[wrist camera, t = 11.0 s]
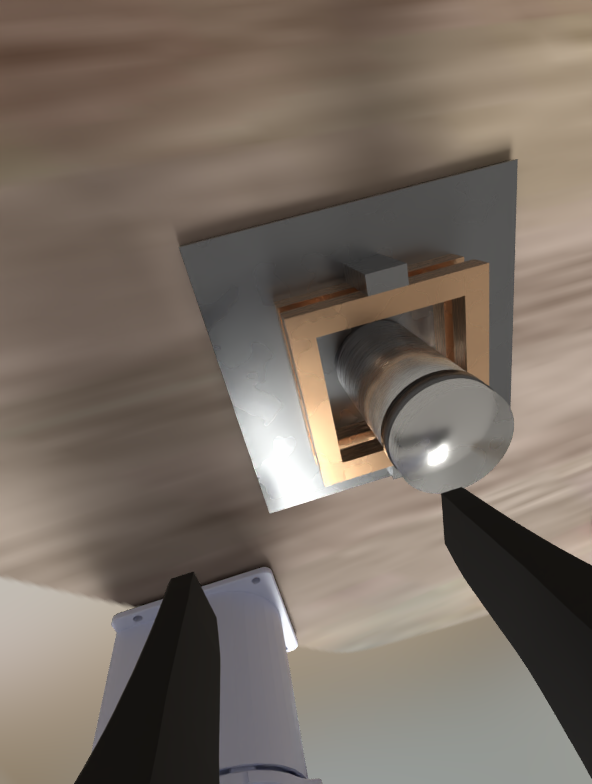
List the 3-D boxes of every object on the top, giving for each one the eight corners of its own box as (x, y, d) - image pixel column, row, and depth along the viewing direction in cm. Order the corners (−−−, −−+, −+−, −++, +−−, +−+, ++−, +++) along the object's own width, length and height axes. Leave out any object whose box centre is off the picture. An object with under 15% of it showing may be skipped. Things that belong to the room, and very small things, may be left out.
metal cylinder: (344, 411, 20) (403, 509, 14) (326, 335, 18) (387, 411, 12) (422, 385, 20) (514, 472, 14) (413, 308, 18) (516, 369, 12)
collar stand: (268, 507, 22) (277, 552, 20) (179, 245, 16) (173, 256, 13) (503, 434, 23) (544, 467, 21) (509, 160, 17) (569, 153, 14)
